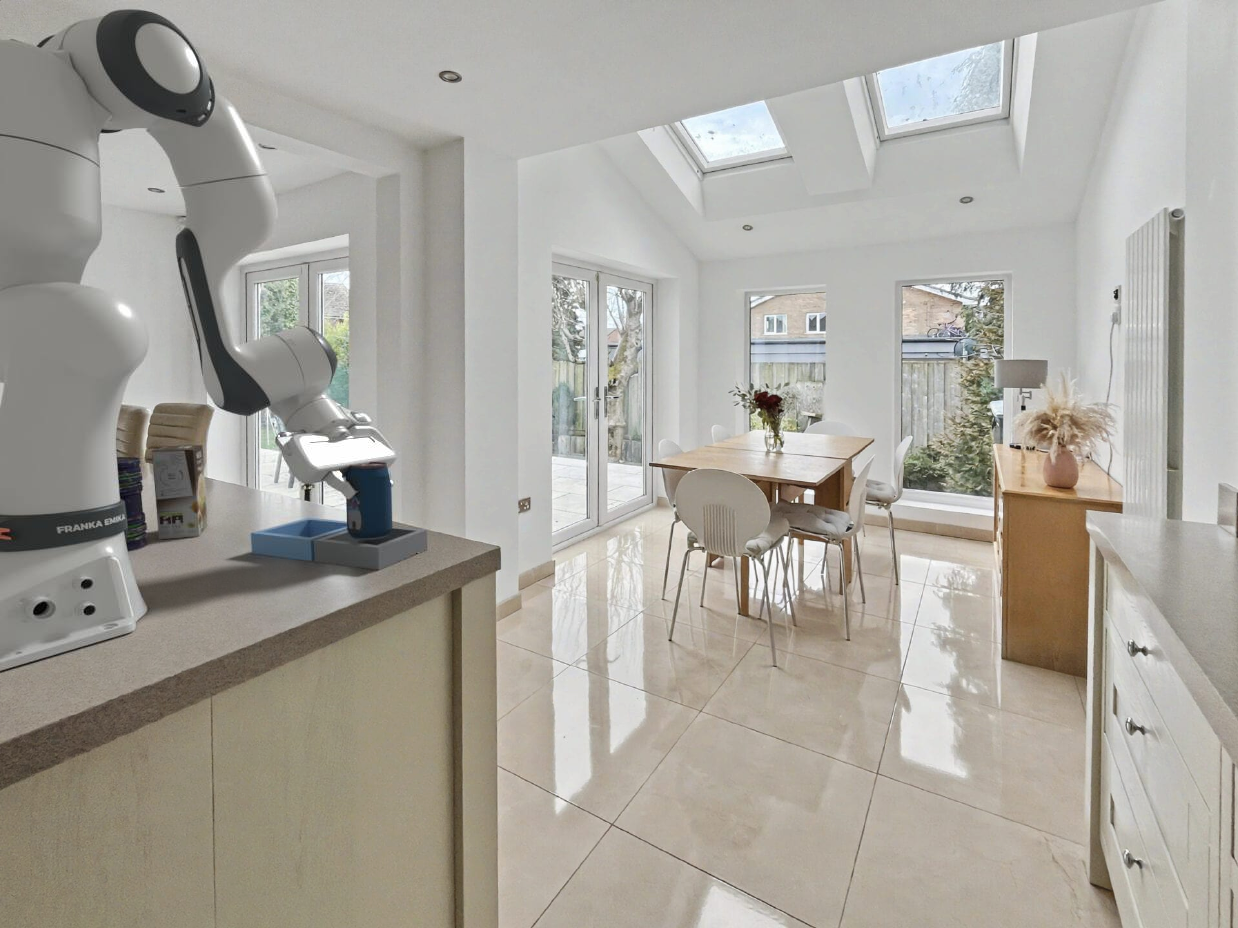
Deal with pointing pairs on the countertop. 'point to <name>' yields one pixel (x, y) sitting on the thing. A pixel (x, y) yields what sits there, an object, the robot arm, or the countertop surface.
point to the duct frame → (337, 544)
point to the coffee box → (180, 491)
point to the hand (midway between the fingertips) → (372, 492)
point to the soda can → (369, 501)
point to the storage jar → (132, 501)
